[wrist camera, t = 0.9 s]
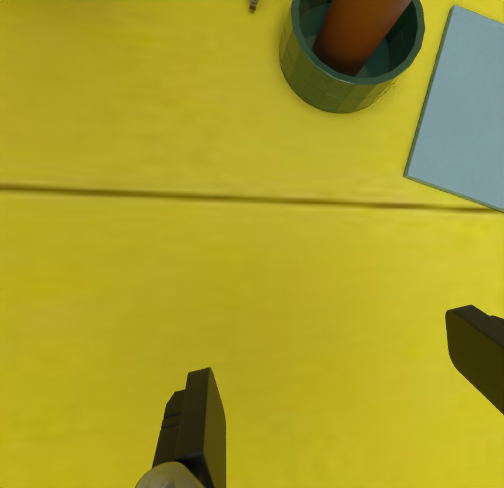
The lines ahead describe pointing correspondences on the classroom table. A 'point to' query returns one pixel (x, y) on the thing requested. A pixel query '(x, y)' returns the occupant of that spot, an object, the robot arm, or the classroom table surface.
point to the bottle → (355, 32)
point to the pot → (337, 84)
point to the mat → (464, 113)
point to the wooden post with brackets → (253, 4)
